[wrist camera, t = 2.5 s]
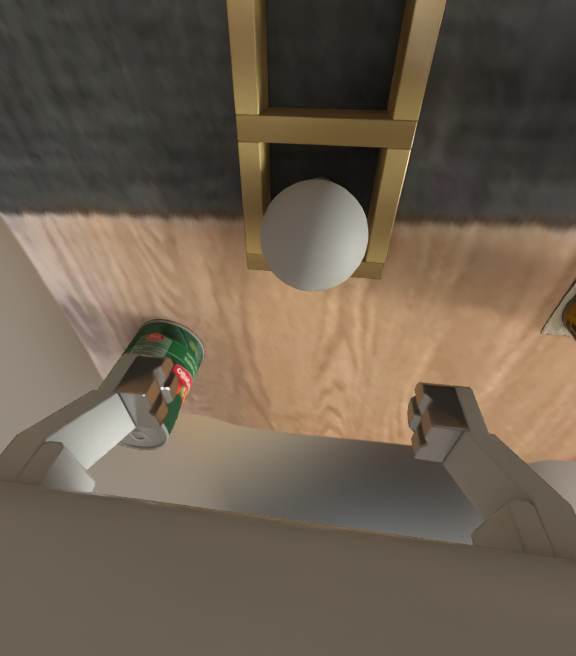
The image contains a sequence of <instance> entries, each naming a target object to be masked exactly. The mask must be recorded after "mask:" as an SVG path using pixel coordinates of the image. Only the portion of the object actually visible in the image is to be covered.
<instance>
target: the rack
mask: <svg viewBox="0 0 576 656" xmlns="http://www.w3.org/2000/svg"><path fill="white" fill-rule="evenodd" d="M226 3H227V15H228V28H229V40H230V52H231V65H232V77H233V89H234V102H235V113H236V126H237V139H238V141H239V142H238V150H239V163H240V175H241V188H242V200H243V212H244V225H245V237H246V250H247V263H248V269H253V270H266V271H271V269H270V268H269V266H268V265H267V263H266V261H265V258H264V256H263V253H262V249H261V243H260V228H261V224H262V219H263V217H264V215H265V212H266V210H267V208H268V206H269V204H270V203H271V181H270V143H288V144H312V145H335V146H359V147H380V150H379V156H378V161H377V167H376V172H375V178H374V184H373V189H372V195H371V201H370V206H369V212H368V218H367V225H368V244H367V248H366V252H365V255H364V257H363V259H362V261H361V263H360V265H359V266H358V268H357V269H356V270H355V272H354V273H353V274H352V275H351V276H350V277H357V278H370V279H381V276H382V272H383V268H384V262H385V259H386V255H387V250H388V246H389V242H390V238H391V233H392V229H393V225H394V221H395V216H396V212H397V208H398V203H399V199H400V195H401V191H402V186H403V182H404V178H405V174H406V169H407V165H408V161H409V157H410V152H411V149H410V148H412V144H413V140H414V136H415V131H416V127H417V123H418V122H417V120H418V119H419V114H420V110H421V106H422V102H423V97H424V93H425V89H426V85H427V80H428V76H429V72H430V68H431V63H432V59H433V55H434V51H435V46H436V42H437V38H438V34H439V29H440V25H441V21H442V17H443V12H444V8H445V4H446V0H406V3H405V9H404V14H403V20H402V26H401V31H400V37H399V43H398V48H397V54H396V59H395V65H394V71H393V76H392V82H391V88H390V93H389V99H388V105H387V110H357V109H327V108H296V107H268V106H269V93H268V50H267V7H266V0H226Z"/></svg>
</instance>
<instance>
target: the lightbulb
mask: <svg viewBox="0 0 576 656" xmlns="http://www.w3.org/2000/svg"><path fill="white" fill-rule="evenodd" d="M260 243H261V249H262V253H263V256H264V258H265V261H266V263H267V265H268V266H269V268H270V269H271V271H272V272H273V273H274V274H275V275H276V276H277V277H278V278H279V279H280V280H282V281H283V282H284V283H286V284H287V285H289V286H291V287H293V288H296V289H300V290H304V291H322V290H327V289H330V288H332V287H335V286H338V285H339V284H341V283H343V282H344V281H346V280H347V279H348V278H349V277H350V276H351V275H352V274H353V273H354V272H355V270H356V269H357V268H358V266H359V265H360V263H361V261H362V259H363V257H364V255H365V252H366V248H367V244H368V225H367V219H366V216H365V213H364V211H363V209H362V207H361V205H360V204H359V202H358V201H357V200H356V198H355V197H354V196H353V195H352V194H351V193H349V192H348V191H347V190H346V189H345V188H343V187H341V186H340V185H338V184H336V183H333V182H332V181H331V180H330V179H328V178H326V177H315V178H313V179H311V180H304V181H301V182H298V183H295V184H293V185H291V186H290V187H288V188H286V189H284V190H283V191H282V192H280V193H279V194H278V195H277V196H276V197H275V198H274V199H273V201H272V202H271V203H270V204H269V206H268V208H267V210H266V212H265V215H264V217H263V219H262V224H261V228H260Z"/></svg>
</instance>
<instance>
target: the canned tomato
mask: <svg viewBox="0 0 576 656" xmlns="http://www.w3.org/2000/svg"><path fill="white" fill-rule="evenodd" d="M125 353H133V354H142V355H150V356H158V357H166V358H171V360H172V362H173V367H172V369H171V370H172V371H174V372H175V373H176V374H177V377H178V389H177V393H176V396H175V398H174V400H173V401H172V402H170V403H169V404H168V405H166V406H167V409H168V413H167V415H166V417H165V419H164V421H163V423H162V426H161V428H151V427H140V426H135V427H136V428H135V429H134V430H132V431H131V432H130V433H129V434H128V435H127V436H125V437H124V438H123V439H122V440H121V441H120V442H119V443H117V444H118V445H121V446H124V447H127V448H132V449H138V450H155V449H158V448H161V447H163V446H164V445H165V444H166V443H167V441H168V438H169V435H170V433H171V430H172V429H173V426H174V424H175V421H176V420H177V417H178V414H179V413H180V410H181V408H182V406H183V403H184V401H185V399H186V396H187V394H188V392H189V389H190V388H191V385H192V383H193V380H194V378H195V376H196V373H197V371H198V369H199V366H200V364H201V362H202V360H203V358H204V347H203V345H202V343H201V341H200V340H199V338H198V337H197V336H196V335H195V334H194V333H193V332H192V331H190V330H189V329H188V328H186V327H184V326H182V325H180V324H178V323H175V322H171V321H167V320H153V321H149V322H147V323H145V324H144V325H143V326H142V327H141V328H140V329H139V331H138V333H137V334H136V336H135V337H134V338H133V340H132V342H131V343H130V344H129V346H128V347H127V348H126V350H125V352H124V353H123V354H122V355H124V354H125ZM117 362H118V361H117ZM105 379H106V378H105Z"/></svg>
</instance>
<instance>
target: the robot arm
mask: <svg viewBox="0 0 576 656" xmlns="http://www.w3.org/2000/svg"><path fill="white" fill-rule="evenodd" d="M172 367H173V362H172V360H171V358H166V357H158V356H150V355H142V354H133V353H125V354H124V355H122V356H121V357H120V359H119V360H118V362H117V363H116V364H115V366H114V367H113V369H112V370H111V371H110V373H109V374H108V376H107V377H106V379H105V380H104V381H103V383H102V384H101V386H100V387H99V389H98V390H92V391H90V392H89V393H87V394H85V395H84V396H82V397H80V398H79V399H77V400H75V401H73V402H72V403H70V404H69V405H67V406H65V407H63V408H62V409H60V410H58V411H57V412H55V413H53V414H52V415H50V416H48V417H46V418H45V419H43V420H41V421H40V422H38V423H36V424H35V425H33V426H31V427H30V428H28V429H26V430H24V431H23V432H21V433H20V434H18V435H16V437H15V438H14V439H13V440H12V441H11V443H10V444H9V445H8V446H7V447H6V449H5V450H4V451H3V452H2V453H1V454H0V656H576V514H575V512H574V510H573V508H572V506H571V505H570V504H569V503H568V502H567V501H566V500H565V499H564V498H562V496H561V495H559V494H558V493H557V492H556V491H555V490H554V489H553V488H552V487H551V486H550V485H549V484H547V483H546V482H545V481H544V480H543V479H542V478H541V477H540V476H539V475H538V474H537V473H536V472H535V471H534V470H532V469H531V468H530V467H529V466H528V465H527V464H526V463H525V462H524V461H523V460H522V459H521V458H519V457H518V456H517V455H516V454H515V453H514V452H513V451H512V450H511V449H510V448H509V447H508V446H506V445H505V444H504V443H503V442H502V441H501V440H500V439H499V438H498V437H497V436H496V435H495V434H489V432H488V429H487V427H486V424H485V422H484V419H483V416H482V414H481V411H480V409H479V406H478V404H477V401H476V399H475V396H474V393H473V391H472V389H471V388H470V387H464V386H453V385H452V386H451V385H445V384H433V383H422V382H419V383H418V384H417V385H416V387H415V394H416V396H414V397H412V398H411V399H410V402H409V405H408V412H407V414H408V424H409V427H410V428H411V429H412V430H413V432H414V434H413V436H412V438H411V441H412V446H413V452H414V456H415V459H421V460H428V461H436V462H442V463H443V465H444V467H445V468H446V469H447V471H448V472H449V473H450V475H451V476H452V478H453V479H454V480H455V482H456V483H457V484H458V485H459V487H460V488H461V490H462V491H463V492H464V494H465V495H466V496H467V498H468V499H469V500H470V502H471V503H472V504H473V506H474V507H475V508H476V510H477V511H478V512H479V514H480V515H481V516H482V518H483V519H484V521H485V522H484V523H483V524H482V525H481V526H479V527H478V528H477V529H476V530H475V531H474V532H473V533H472V534H471V537H472V541H473V545H467V544H460V543H453V542H445V541H439V540H431V539H424V538H417V537H409V536H402V535H395V534H388V533H381V532H374V531H366V530H359V529H352V528H345V527H338V526H330V525H323V524H316V523H309V522H302V521H294V520H287V519H280V518H273V517H266V516H257V515H251V514H244V513H237V512H230V511H222V510H215V509H208V508H201V507H193V506H186V505H179V504H172V503H164V502H157V501H149V500H143V499H136V498H128V497H121V496H114V495H106V494H99V493H92V490H93V488H94V486H95V485H96V483H95V480H94V479H93V477H92V476H91V475H90V474H89V473H88V472H87V471H86V470H87V469H88V468H89V467H91V466H92V465H93V464H94V463H95V462H96V461H98V460H99V459H100V458H101V457H102V456H103V455H105V454H106V452H108V451H109V450H110V449H112V448H113V447H114V446H115V445H116V444H117V443H119V442H120V441H121V440H122V439H123V438H124V437H125V436H127V435H128V434H129V433H130V432H131V431H132V430H134V429H135V428H136V427H135V426H140V427H151V428H161V426H162V423H163V421H164V419H165V417H166V415H167V413H168V409H167V406H166V405H168V404H169V403H170V402H172V401H173V400H174V398H175V396H176V393H177V389H178V377H177V374H176V373H175V372H174V371H172V370H171V369H172Z"/></svg>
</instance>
